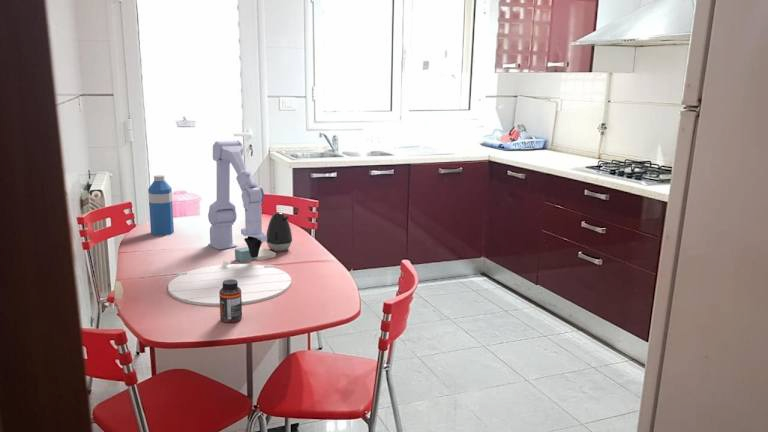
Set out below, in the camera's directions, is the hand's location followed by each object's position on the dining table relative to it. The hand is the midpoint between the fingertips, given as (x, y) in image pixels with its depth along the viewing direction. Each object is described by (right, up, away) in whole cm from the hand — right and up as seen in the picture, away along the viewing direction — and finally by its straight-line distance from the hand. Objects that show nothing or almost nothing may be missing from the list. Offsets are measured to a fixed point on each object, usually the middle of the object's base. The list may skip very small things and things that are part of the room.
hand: (254, 256), depth 219 cm
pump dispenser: (+6, +1, +20) cm, 21 cm away
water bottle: (-49, +7, +41) cm, 64 cm away
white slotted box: (-2, 0, +13) cm, 14 cm away
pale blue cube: (-5, -2, +6) cm, 8 cm away
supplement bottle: (+4, -14, -49) cm, 52 cm away
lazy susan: (-3, -8, -20) cm, 22 cm away
